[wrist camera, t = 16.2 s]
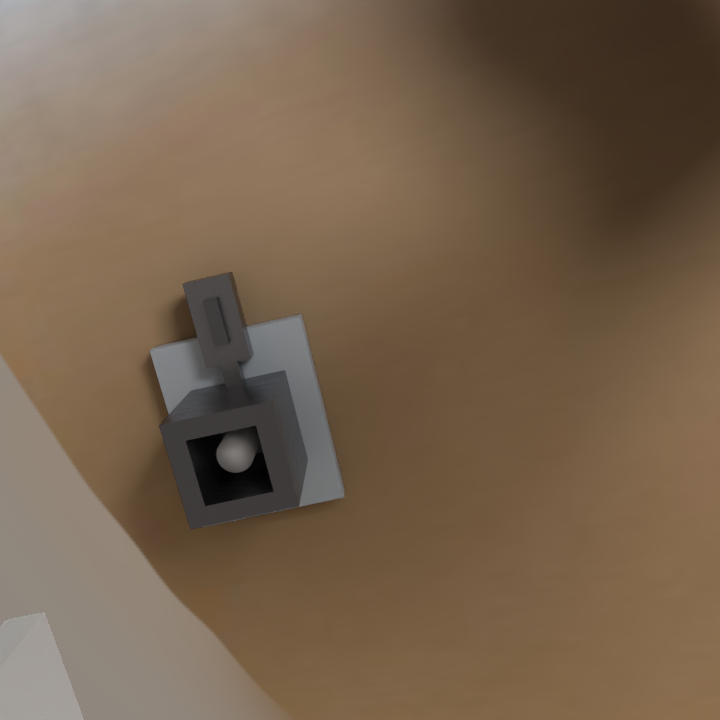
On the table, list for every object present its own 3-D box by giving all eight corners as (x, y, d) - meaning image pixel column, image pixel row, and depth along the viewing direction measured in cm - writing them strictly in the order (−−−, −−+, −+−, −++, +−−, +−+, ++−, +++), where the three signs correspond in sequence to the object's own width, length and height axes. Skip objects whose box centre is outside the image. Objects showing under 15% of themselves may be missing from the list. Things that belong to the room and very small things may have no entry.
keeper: (155, 346, 49) (120, 370, 41) (301, 313, 48) (292, 331, 41) (206, 518, 52) (182, 568, 44) (344, 489, 51) (342, 535, 44)
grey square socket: (161, 287, 46) (122, 303, 39) (258, 265, 46) (238, 276, 38) (216, 479, 49) (190, 529, 42) (308, 459, 49) (299, 506, 41)
